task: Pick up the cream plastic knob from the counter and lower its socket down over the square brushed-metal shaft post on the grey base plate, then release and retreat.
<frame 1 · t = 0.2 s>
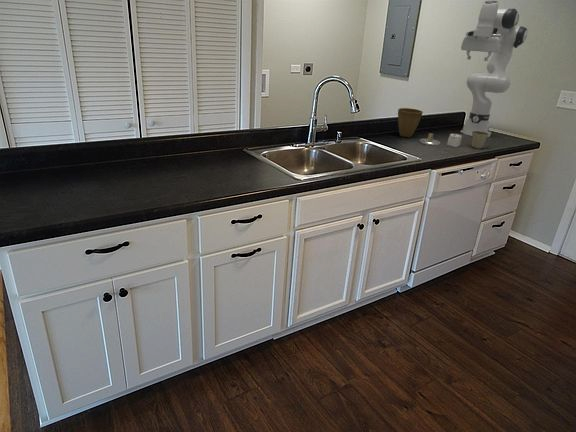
hand: (477, 60, 227), 47 cm above the worktop, fingers open, 8 cm apart
plant pot: (405, 136, 254), on the worktop
flower pot: (476, 147, 236), on the worktop
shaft: (429, 142, 239), on the worktop
knob: (453, 145, 237), on the worktop
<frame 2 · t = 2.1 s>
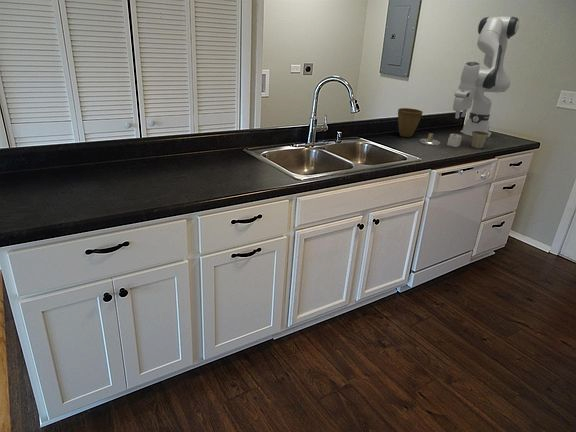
hand: (459, 117, 230), 16 cm above the worktop, fingers open, 8 cm apart
nothing on the worktop moved.
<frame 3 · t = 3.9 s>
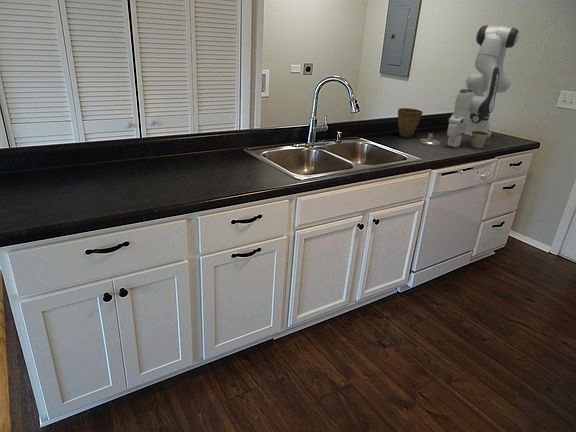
hand: (454, 141, 236), 2 cm above the worktop, fingers closed on knob, 6 cm apart
knob: (453, 145, 237), on the worktop, touching gripper
everything else where it was.
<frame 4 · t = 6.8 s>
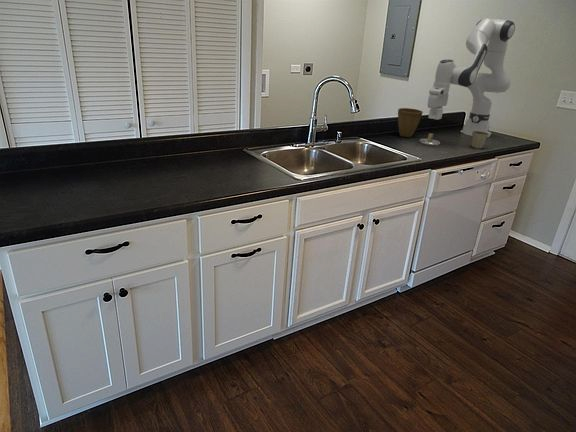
hand: (435, 114, 232), 17 cm above the worktop, fingers closed on knob, 6 cm apart
knob: (434, 118, 233), point 15 cm above the worktop, touching gripper
everything else where it was.
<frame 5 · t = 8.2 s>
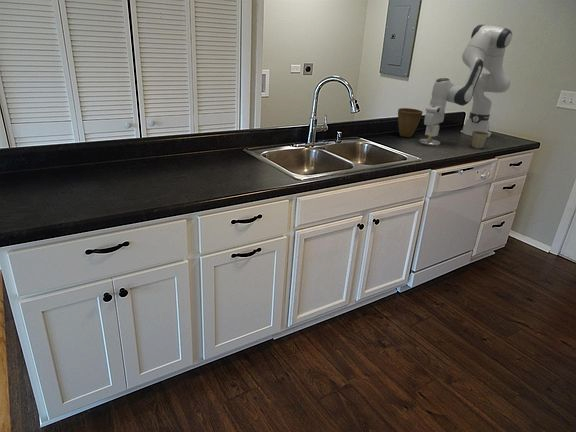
hand: (431, 131, 236), 7 cm above the worktop, fingers closed on knob, 6 cm apart
knob: (431, 134, 237), point 5 cm above the worktop, touching gripper
everything else where it was.
when the fingers open (5 cm above the worktop, at t = 9.2 s): knob stays where it is, resting on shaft.
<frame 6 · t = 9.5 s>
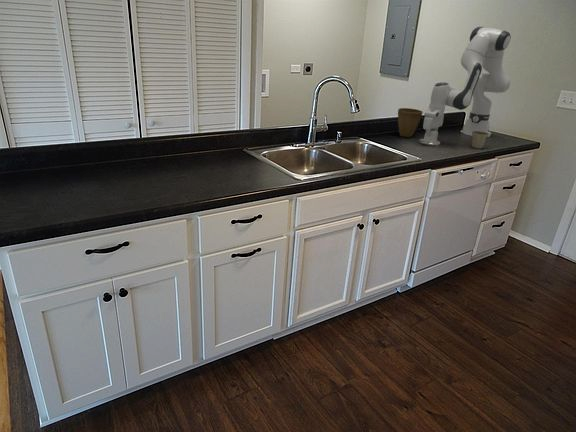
hand: (431, 135, 238), 5 cm above the worktop, fingers open, 8 cm apart
knob: (429, 141, 239), point 1 cm above the worktop, touching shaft
everything else where it was.
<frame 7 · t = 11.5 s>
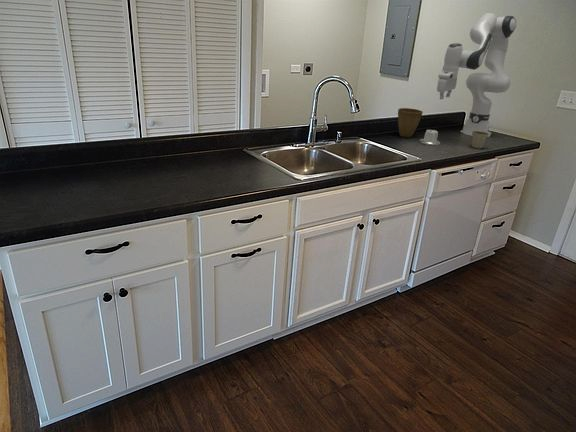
hand: (444, 98, 238), 25 cm above the worktop, fingers open, 8 cm apart
nothing on the worktop moved.
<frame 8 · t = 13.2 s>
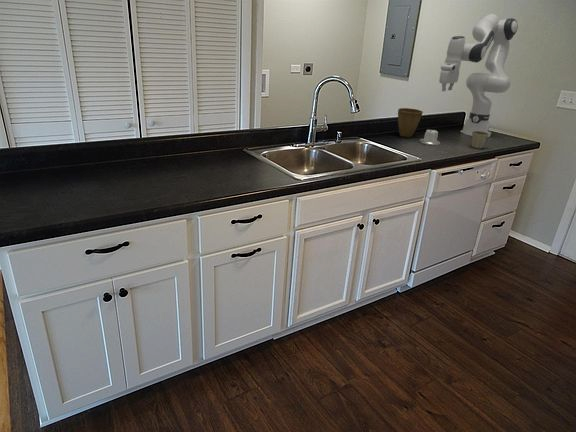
hand: (446, 90, 239), 29 cm above the worktop, fingers open, 8 cm apart
nothing on the worktop moved.
at the end: knob 0.1 cm off-centre on the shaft, point 1.0 cm above the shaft's base; knob tilted 0°; the gripper is holding nothing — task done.
